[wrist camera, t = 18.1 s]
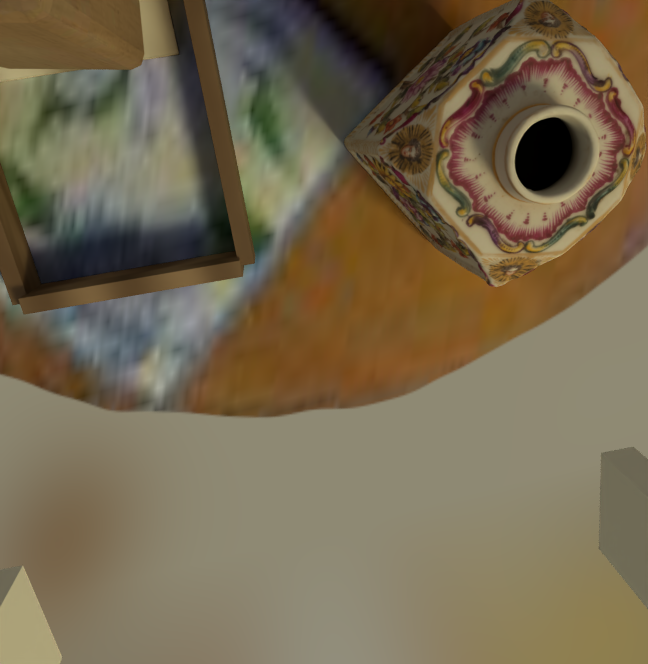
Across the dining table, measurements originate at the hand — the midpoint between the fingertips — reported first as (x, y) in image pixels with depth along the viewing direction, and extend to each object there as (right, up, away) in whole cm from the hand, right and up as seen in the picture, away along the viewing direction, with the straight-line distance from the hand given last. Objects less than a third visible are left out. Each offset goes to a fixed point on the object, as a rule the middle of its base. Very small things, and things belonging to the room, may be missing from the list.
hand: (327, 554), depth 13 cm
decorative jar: (+9, +20, +31) cm, 38 cm away
